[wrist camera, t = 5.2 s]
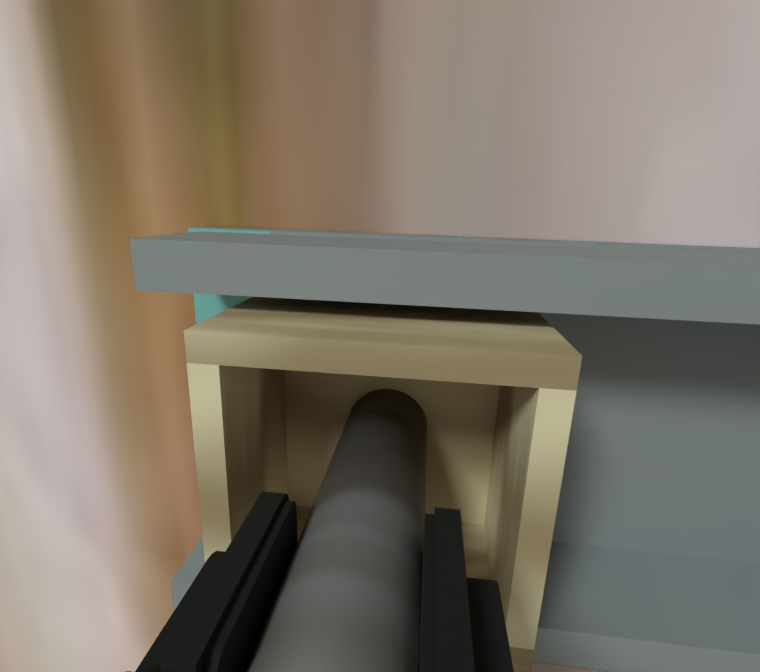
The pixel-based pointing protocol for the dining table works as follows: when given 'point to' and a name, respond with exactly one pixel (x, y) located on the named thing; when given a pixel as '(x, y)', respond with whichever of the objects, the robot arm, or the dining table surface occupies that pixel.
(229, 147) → the dining table surface
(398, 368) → the crate
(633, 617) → the bay
